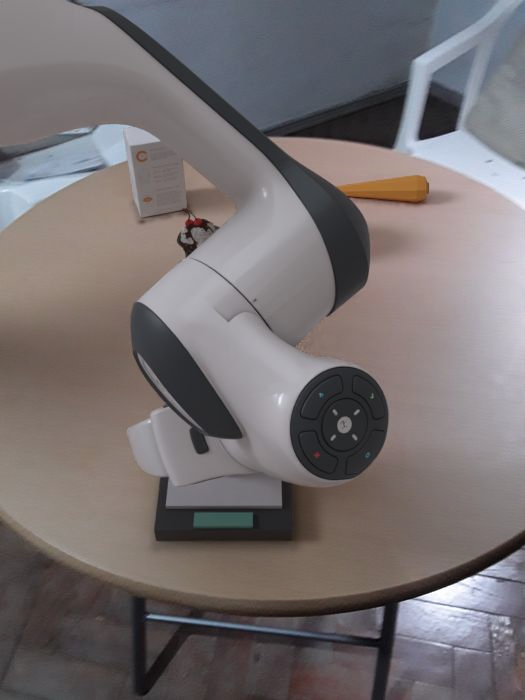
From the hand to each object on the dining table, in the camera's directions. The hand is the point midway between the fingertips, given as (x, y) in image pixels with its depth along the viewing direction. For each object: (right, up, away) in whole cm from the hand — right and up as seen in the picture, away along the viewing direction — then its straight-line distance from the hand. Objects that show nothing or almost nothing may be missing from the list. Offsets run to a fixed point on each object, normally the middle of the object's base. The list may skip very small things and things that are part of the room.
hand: (220, 409), depth 69 cm
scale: (0, -9, +6) cm, 11 cm away
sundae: (-4, +14, +29) cm, 33 cm away
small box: (-13, +31, +46) cm, 57 cm away
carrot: (+22, +33, +49) cm, 63 cm away
